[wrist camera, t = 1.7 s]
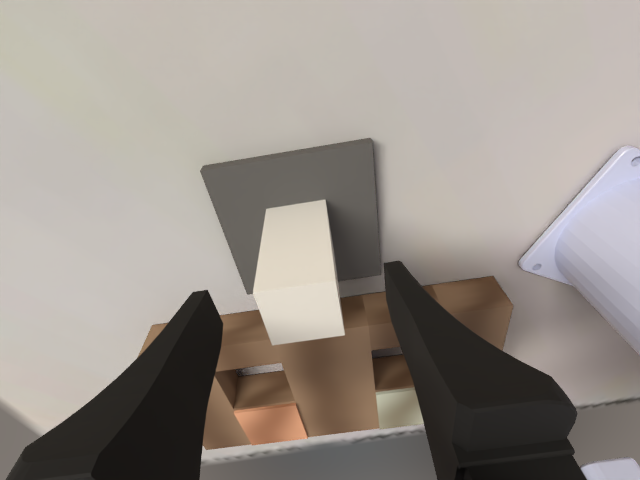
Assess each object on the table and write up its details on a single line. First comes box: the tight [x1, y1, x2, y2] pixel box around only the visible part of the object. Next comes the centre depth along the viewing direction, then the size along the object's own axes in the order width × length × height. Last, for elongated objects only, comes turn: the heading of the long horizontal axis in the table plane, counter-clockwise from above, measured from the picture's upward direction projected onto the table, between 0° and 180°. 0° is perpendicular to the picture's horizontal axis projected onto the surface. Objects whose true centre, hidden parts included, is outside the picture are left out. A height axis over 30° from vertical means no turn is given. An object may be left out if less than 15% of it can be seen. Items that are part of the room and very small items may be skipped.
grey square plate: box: [200, 138, 381, 294], centre depth 18 cm, size 8×8×1 cm
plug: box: [253, 200, 345, 345], centre depth 16 cm, size 3×3×6 cm
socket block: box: [138, 276, 513, 450], centre depth 24 cm, size 22×12×3 cm, turn 99°
